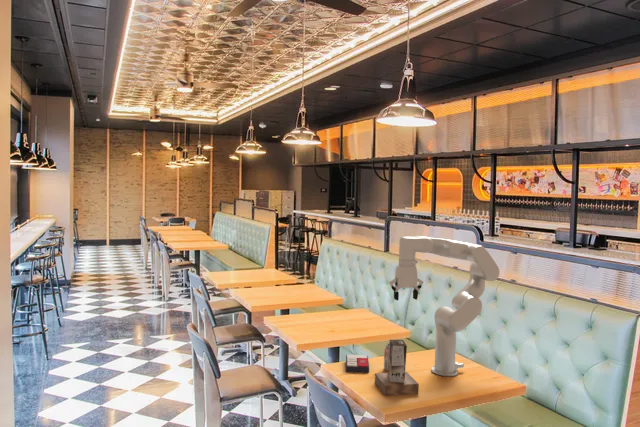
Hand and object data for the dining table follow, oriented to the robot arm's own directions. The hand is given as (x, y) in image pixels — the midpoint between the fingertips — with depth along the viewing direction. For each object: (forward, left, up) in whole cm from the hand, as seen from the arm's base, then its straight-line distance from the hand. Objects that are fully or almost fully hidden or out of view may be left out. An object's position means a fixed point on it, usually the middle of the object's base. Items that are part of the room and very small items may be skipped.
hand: (405, 299), depth 226 cm
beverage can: (+1, -9, -36) cm, 38 cm away
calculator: (+17, -16, -37) cm, 44 cm away
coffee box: (+10, +13, -32) cm, 36 cm away
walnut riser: (+10, +13, -37) cm, 40 cm away
